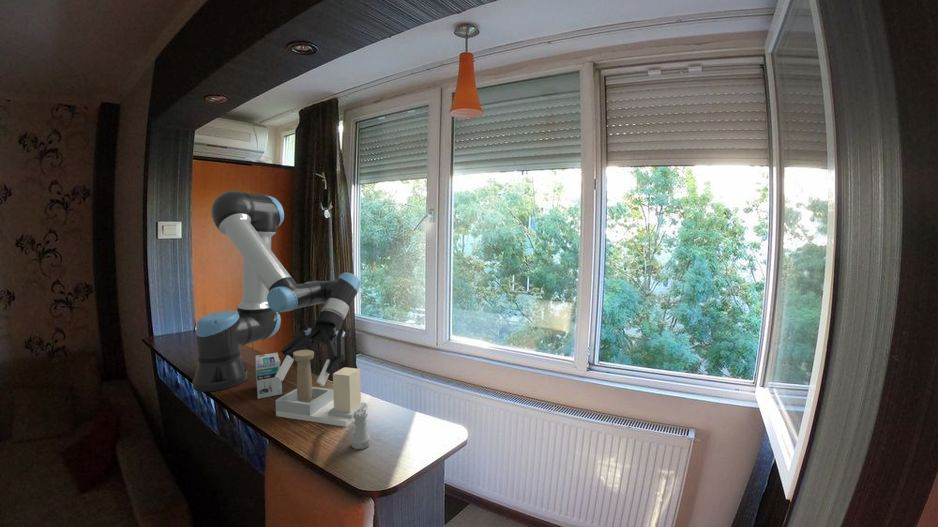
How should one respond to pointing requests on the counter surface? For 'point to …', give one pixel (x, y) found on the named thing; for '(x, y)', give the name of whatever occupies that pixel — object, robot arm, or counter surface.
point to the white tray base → (327, 401)
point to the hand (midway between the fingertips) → (299, 381)
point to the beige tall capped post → (304, 374)
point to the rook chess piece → (360, 431)
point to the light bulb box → (267, 375)
